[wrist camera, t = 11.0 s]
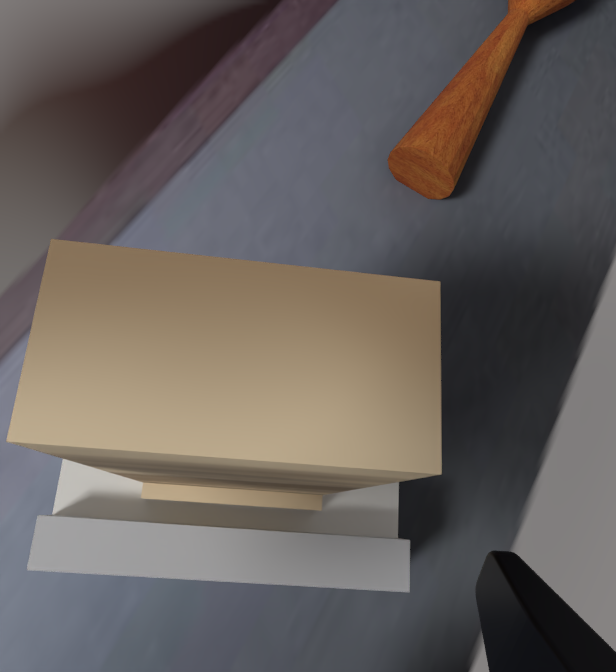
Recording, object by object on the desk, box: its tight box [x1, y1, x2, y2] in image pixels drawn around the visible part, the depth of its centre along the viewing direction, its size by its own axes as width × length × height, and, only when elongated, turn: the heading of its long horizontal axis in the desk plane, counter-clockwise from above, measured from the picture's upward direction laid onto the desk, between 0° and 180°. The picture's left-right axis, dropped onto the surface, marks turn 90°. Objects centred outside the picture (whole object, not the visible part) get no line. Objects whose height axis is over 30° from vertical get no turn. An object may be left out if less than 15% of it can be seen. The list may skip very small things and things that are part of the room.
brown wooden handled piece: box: [388, 0, 575, 199], centre depth 28 cm, size 6×6×20 cm
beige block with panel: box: [6, 239, 442, 511], centre depth 14 cm, size 4×6×13 cm, turn 87°
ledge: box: [27, 459, 410, 592], centre depth 21 cm, size 9×12×4 cm
